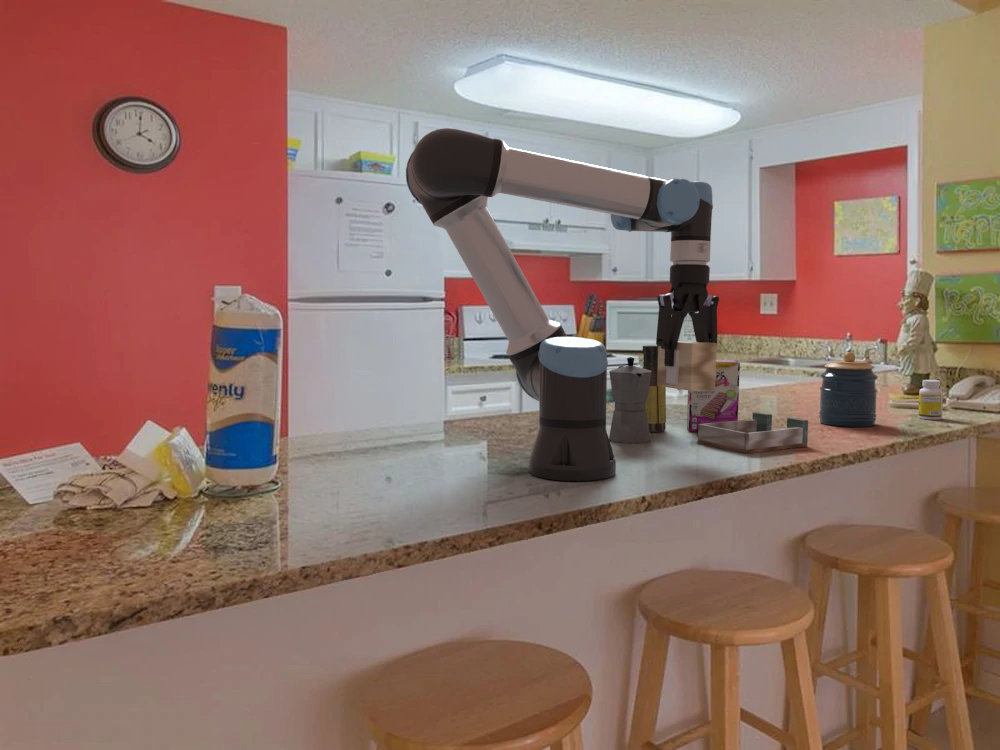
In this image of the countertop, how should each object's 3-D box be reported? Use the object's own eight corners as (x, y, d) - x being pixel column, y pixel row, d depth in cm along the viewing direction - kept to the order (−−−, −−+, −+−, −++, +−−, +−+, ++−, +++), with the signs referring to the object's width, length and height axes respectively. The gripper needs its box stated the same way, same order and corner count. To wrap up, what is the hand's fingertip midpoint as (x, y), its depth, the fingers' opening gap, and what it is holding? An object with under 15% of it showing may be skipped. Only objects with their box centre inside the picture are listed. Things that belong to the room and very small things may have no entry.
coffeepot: (660, 444, 171) (662, 359, 170) (616, 445, 170) (617, 359, 169) (638, 433, 187) (639, 354, 185) (598, 434, 185) (598, 354, 184)
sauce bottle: (659, 428, 194) (661, 344, 192) (670, 432, 188) (671, 345, 186) (634, 429, 193) (635, 344, 191) (643, 433, 186) (644, 346, 185)
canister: (808, 420, 206) (810, 350, 204) (854, 419, 208) (857, 350, 207) (838, 428, 193) (841, 353, 191) (887, 426, 195) (890, 353, 194)
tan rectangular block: (690, 390, 155) (692, 343, 154) (657, 385, 163) (658, 340, 163) (714, 389, 157) (716, 343, 157) (680, 384, 166) (682, 340, 165)
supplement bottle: (923, 416, 213) (925, 379, 212) (945, 418, 209) (947, 380, 208) (914, 418, 210) (916, 380, 209) (936, 420, 205) (938, 381, 204)
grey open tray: (746, 453, 161) (746, 426, 161) (697, 442, 173) (698, 417, 173) (807, 446, 169) (808, 420, 168) (756, 436, 181) (757, 412, 181)
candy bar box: (688, 432, 188) (690, 361, 186) (686, 429, 193) (687, 359, 191) (738, 433, 186) (740, 361, 185) (734, 429, 191) (736, 359, 190)
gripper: (663, 261, 151) (659, 386, 153) (740, 265, 159) (735, 383, 161) (638, 262, 157) (634, 382, 159) (713, 266, 166) (709, 379, 168)
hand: (685, 382), depth 160 cm, fingers closed on tan rectangular block, 6 cm apart
